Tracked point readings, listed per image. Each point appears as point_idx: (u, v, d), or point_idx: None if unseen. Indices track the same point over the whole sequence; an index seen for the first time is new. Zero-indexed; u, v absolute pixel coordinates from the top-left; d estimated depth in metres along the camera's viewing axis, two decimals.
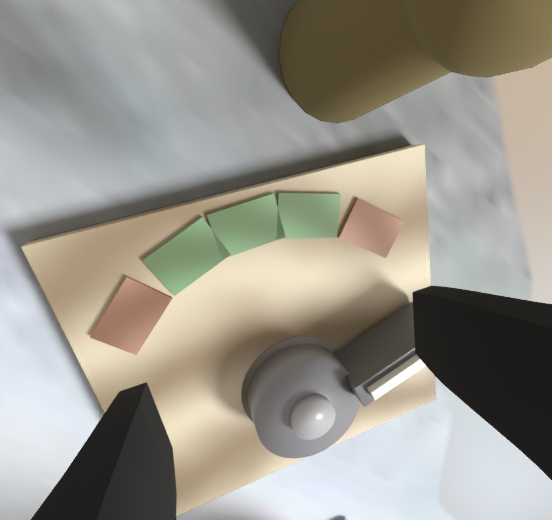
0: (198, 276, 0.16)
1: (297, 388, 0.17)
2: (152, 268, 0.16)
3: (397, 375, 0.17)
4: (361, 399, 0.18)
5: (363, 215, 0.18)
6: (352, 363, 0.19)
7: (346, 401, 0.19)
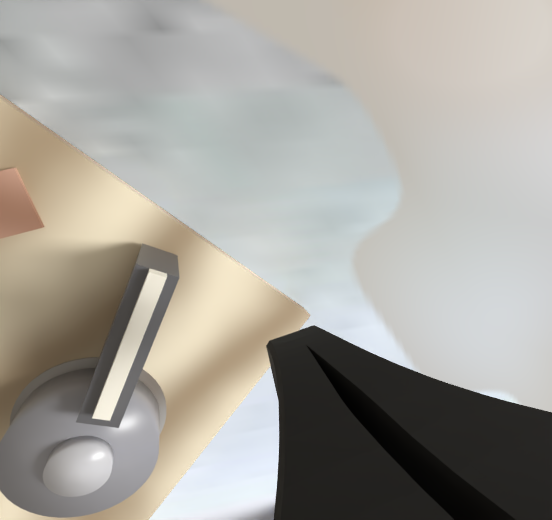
0: None
1: (29, 452, 0.13)
2: None
3: (108, 378, 0.12)
4: (103, 424, 0.13)
5: None
6: None
7: None
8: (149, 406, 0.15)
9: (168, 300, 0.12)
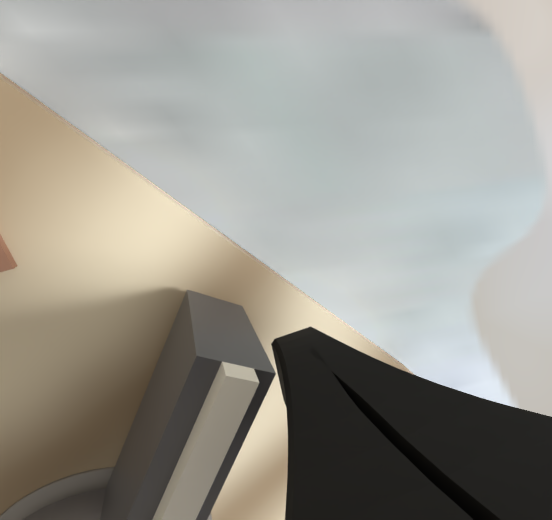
0: None
1: None
2: None
3: None
4: None
5: None
6: None
7: None
8: None
9: (253, 416, 0.06)
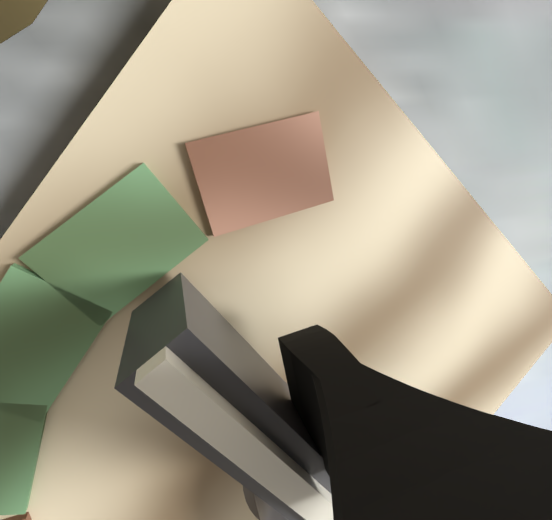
0: (30, 468, 0.09)
1: None
2: None
3: (286, 502, 0.07)
4: None
5: (225, 164, 0.08)
6: None
7: None
8: None
9: (219, 364, 0.06)
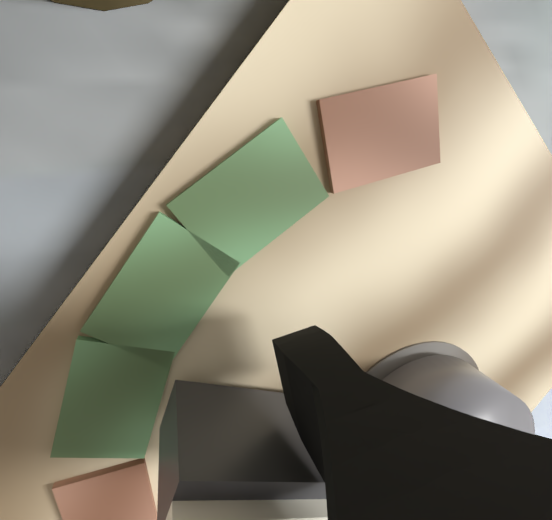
0: (153, 413, 0.09)
1: None
2: (77, 454, 0.09)
3: None
4: None
5: (351, 122, 0.08)
6: None
7: None
8: None
9: (226, 485, 0.06)
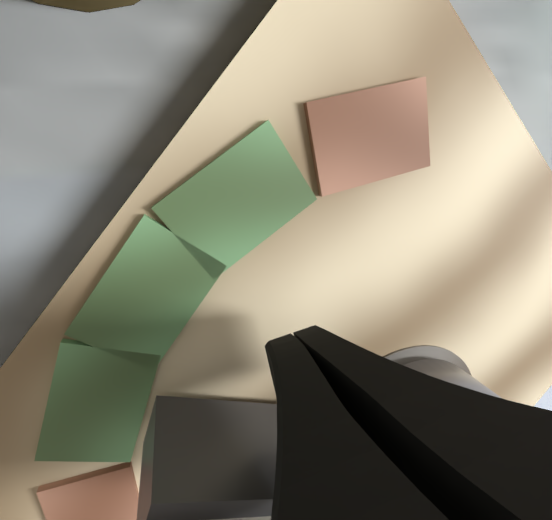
0: (139, 417, 0.09)
1: None
2: (61, 457, 0.09)
3: None
4: None
5: (339, 125, 0.08)
6: None
7: None
8: None
9: (200, 505, 0.06)
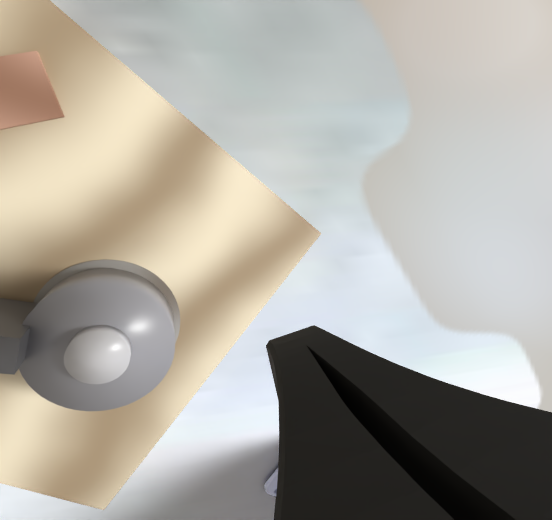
0: None
1: (89, 389, 0.14)
2: None
3: None
4: (16, 352, 0.12)
5: None
6: None
7: (48, 326, 0.13)
8: (52, 291, 0.14)
9: None
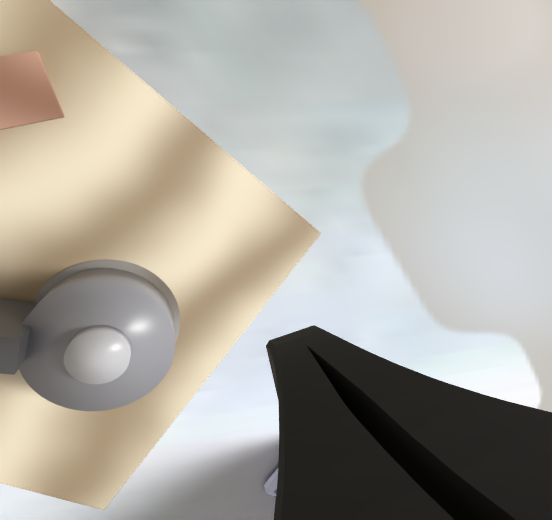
0: None
1: (89, 389, 0.14)
2: None
3: None
4: (16, 352, 0.12)
5: None
6: None
7: (48, 326, 0.13)
8: (52, 291, 0.14)
9: None
